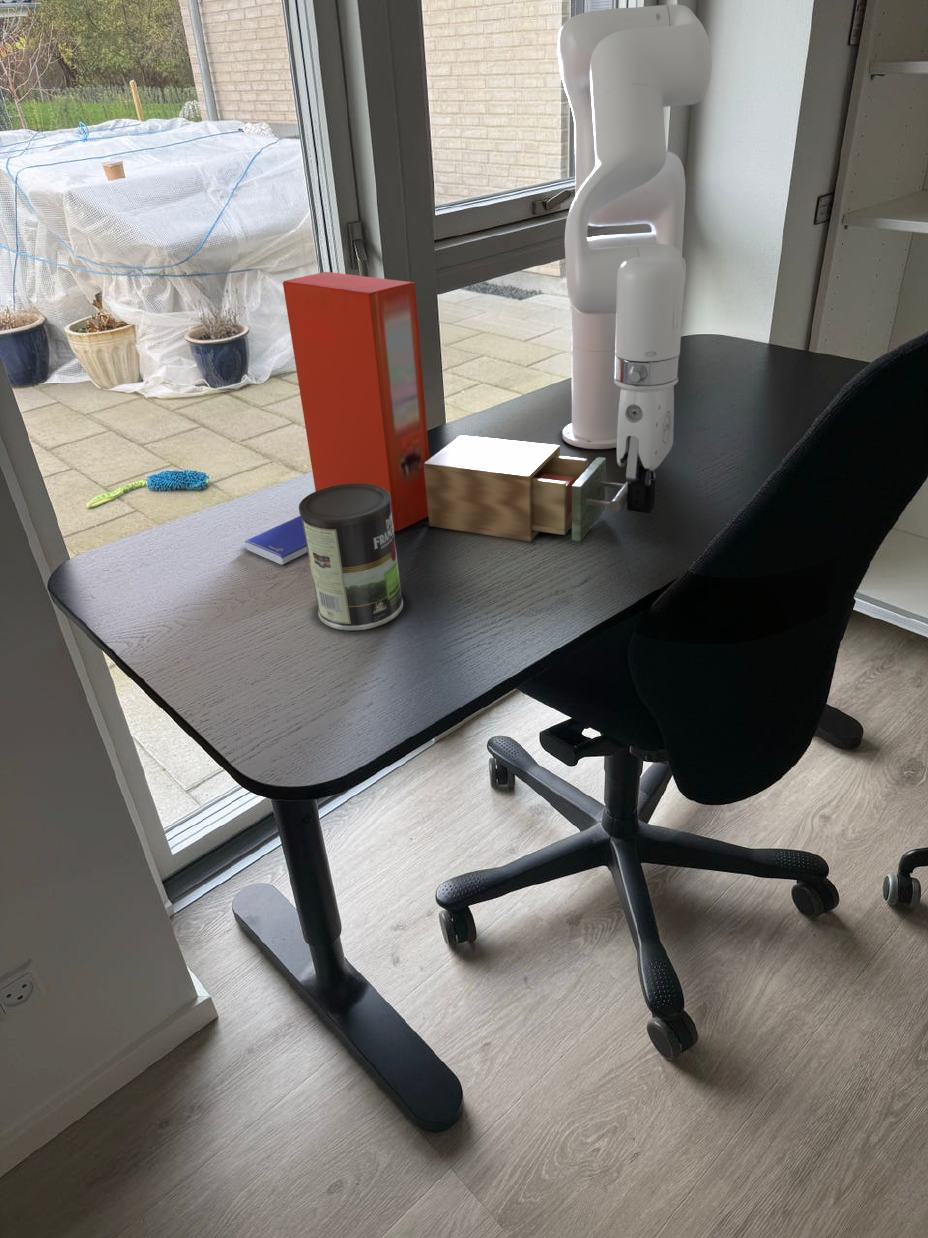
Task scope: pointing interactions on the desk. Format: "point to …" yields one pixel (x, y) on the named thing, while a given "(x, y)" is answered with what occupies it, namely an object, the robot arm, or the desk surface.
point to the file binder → (362, 385)
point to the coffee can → (352, 555)
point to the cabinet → (485, 485)
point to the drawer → (585, 496)
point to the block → (569, 483)
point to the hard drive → (280, 542)
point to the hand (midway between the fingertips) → (640, 509)
